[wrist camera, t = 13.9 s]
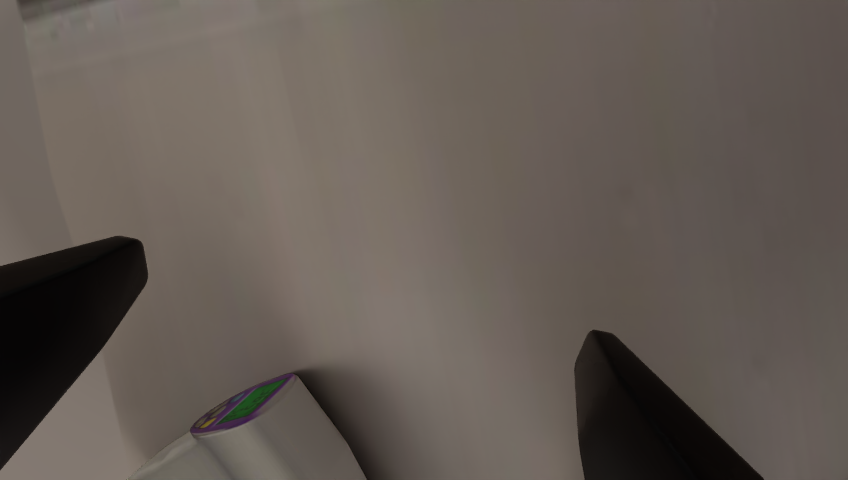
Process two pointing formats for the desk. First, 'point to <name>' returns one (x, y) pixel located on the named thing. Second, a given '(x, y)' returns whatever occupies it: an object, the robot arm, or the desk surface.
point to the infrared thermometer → (259, 440)
